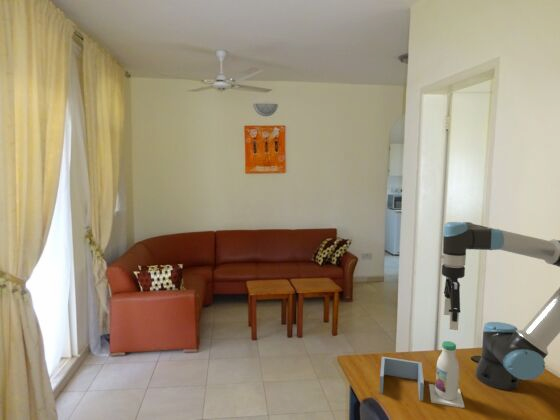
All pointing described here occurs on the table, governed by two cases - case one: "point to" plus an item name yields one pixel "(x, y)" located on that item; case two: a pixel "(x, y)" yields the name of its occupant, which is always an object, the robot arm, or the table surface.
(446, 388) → the milk bottle
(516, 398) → the table surface
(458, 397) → the tile
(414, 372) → the grey u-shaped piece
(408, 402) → the table surface
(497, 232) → the robot arm
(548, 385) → the table surface
